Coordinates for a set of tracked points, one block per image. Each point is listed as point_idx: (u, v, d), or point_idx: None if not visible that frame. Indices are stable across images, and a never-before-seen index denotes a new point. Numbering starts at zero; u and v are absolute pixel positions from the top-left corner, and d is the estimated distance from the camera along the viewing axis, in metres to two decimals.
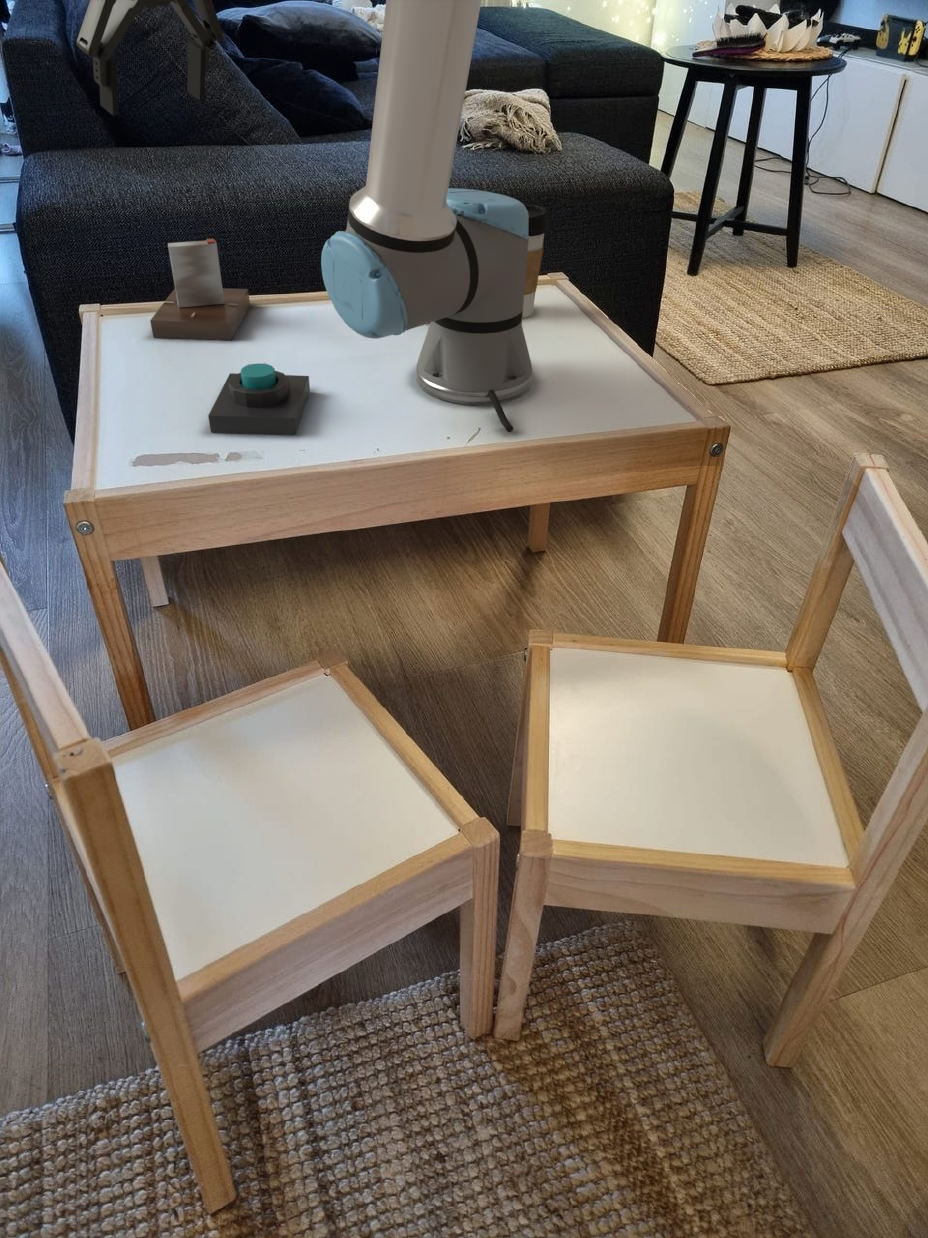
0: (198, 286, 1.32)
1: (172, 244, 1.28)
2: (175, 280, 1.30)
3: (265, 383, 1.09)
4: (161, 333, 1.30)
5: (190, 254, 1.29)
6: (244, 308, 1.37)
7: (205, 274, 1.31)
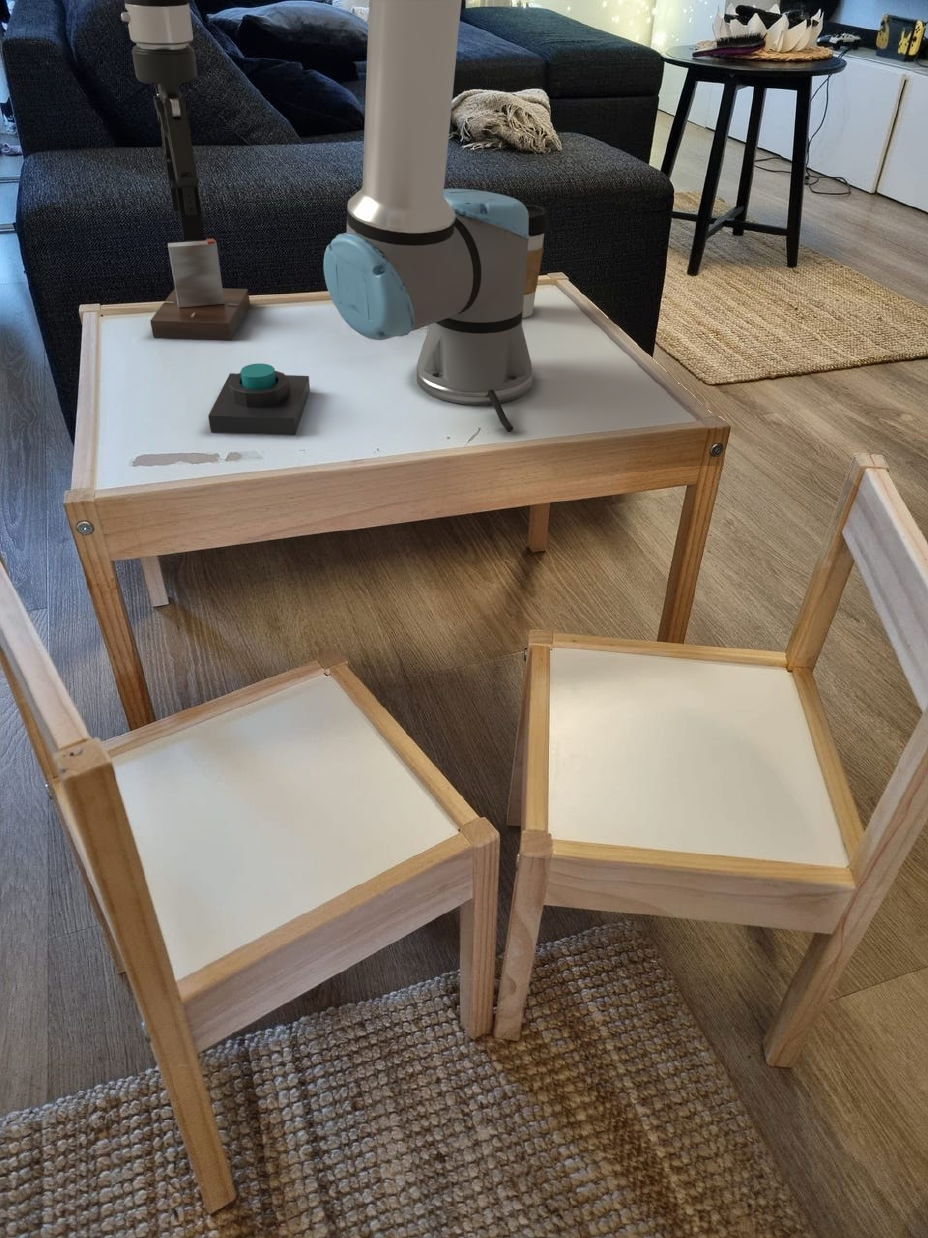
0: (198, 286, 1.32)
1: (172, 244, 1.28)
2: (175, 280, 1.30)
3: (265, 383, 1.09)
4: (161, 333, 1.30)
5: (190, 254, 1.29)
6: (244, 308, 1.37)
7: (205, 274, 1.31)
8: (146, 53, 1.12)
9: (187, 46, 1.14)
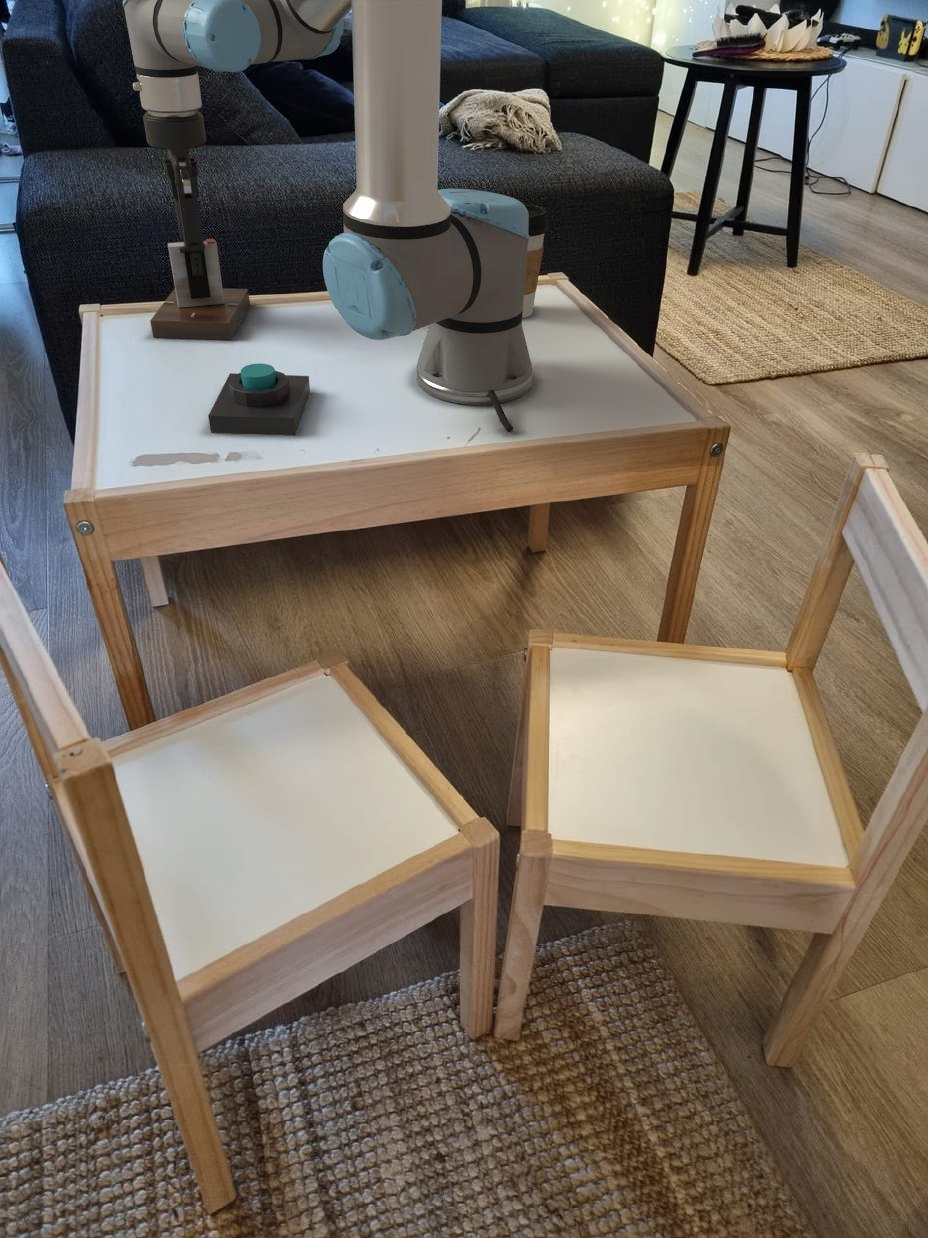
0: None
1: (172, 244, 1.28)
2: (175, 280, 1.30)
3: (265, 383, 1.09)
4: (161, 333, 1.30)
5: None
6: (244, 308, 1.37)
7: None
8: (157, 121, 1.16)
9: (196, 112, 1.18)
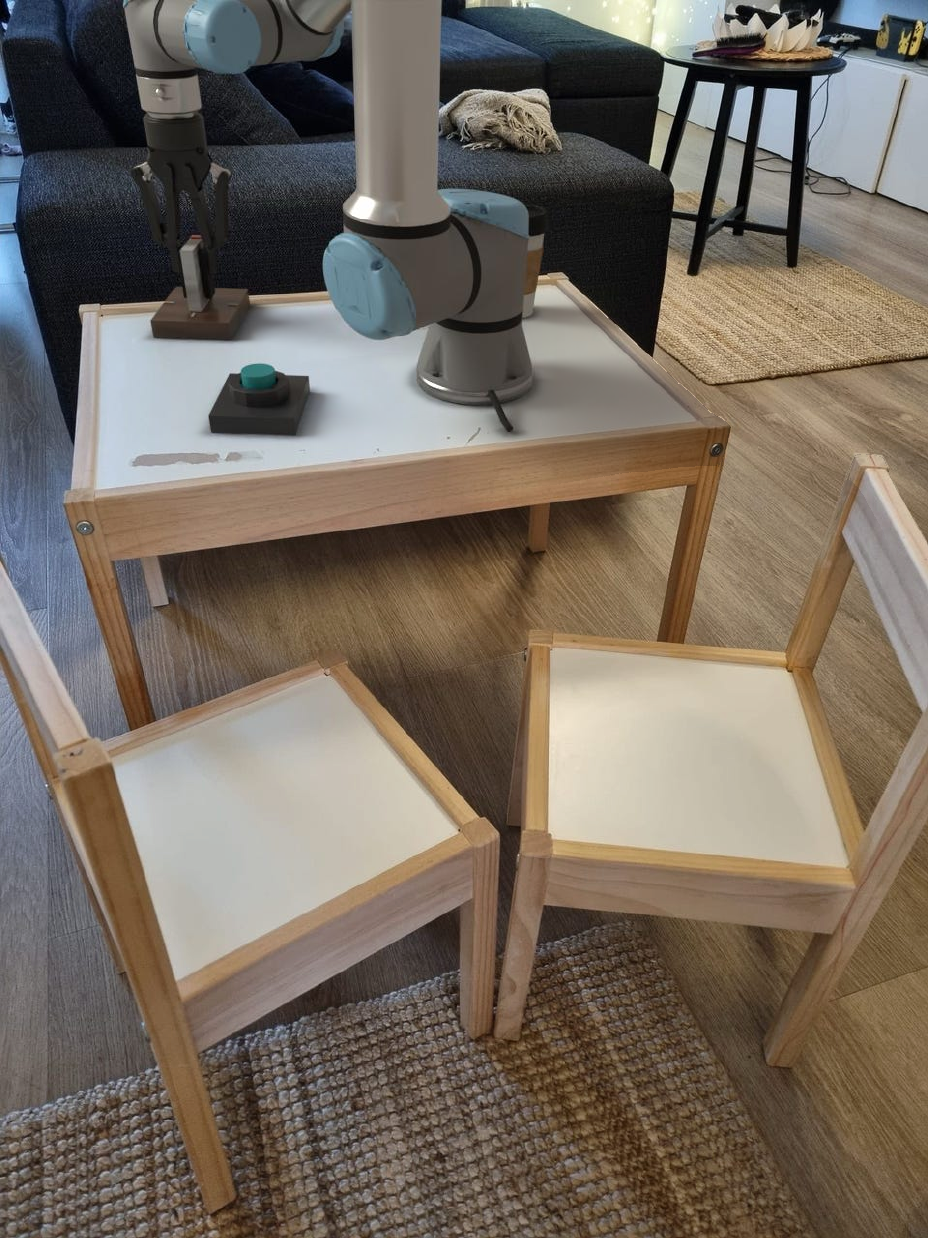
0: None
1: (186, 249, 1.27)
2: (198, 284, 1.29)
3: (265, 383, 1.09)
4: (161, 333, 1.30)
5: None
6: (244, 308, 1.37)
7: None
8: (191, 121, 1.17)
9: None
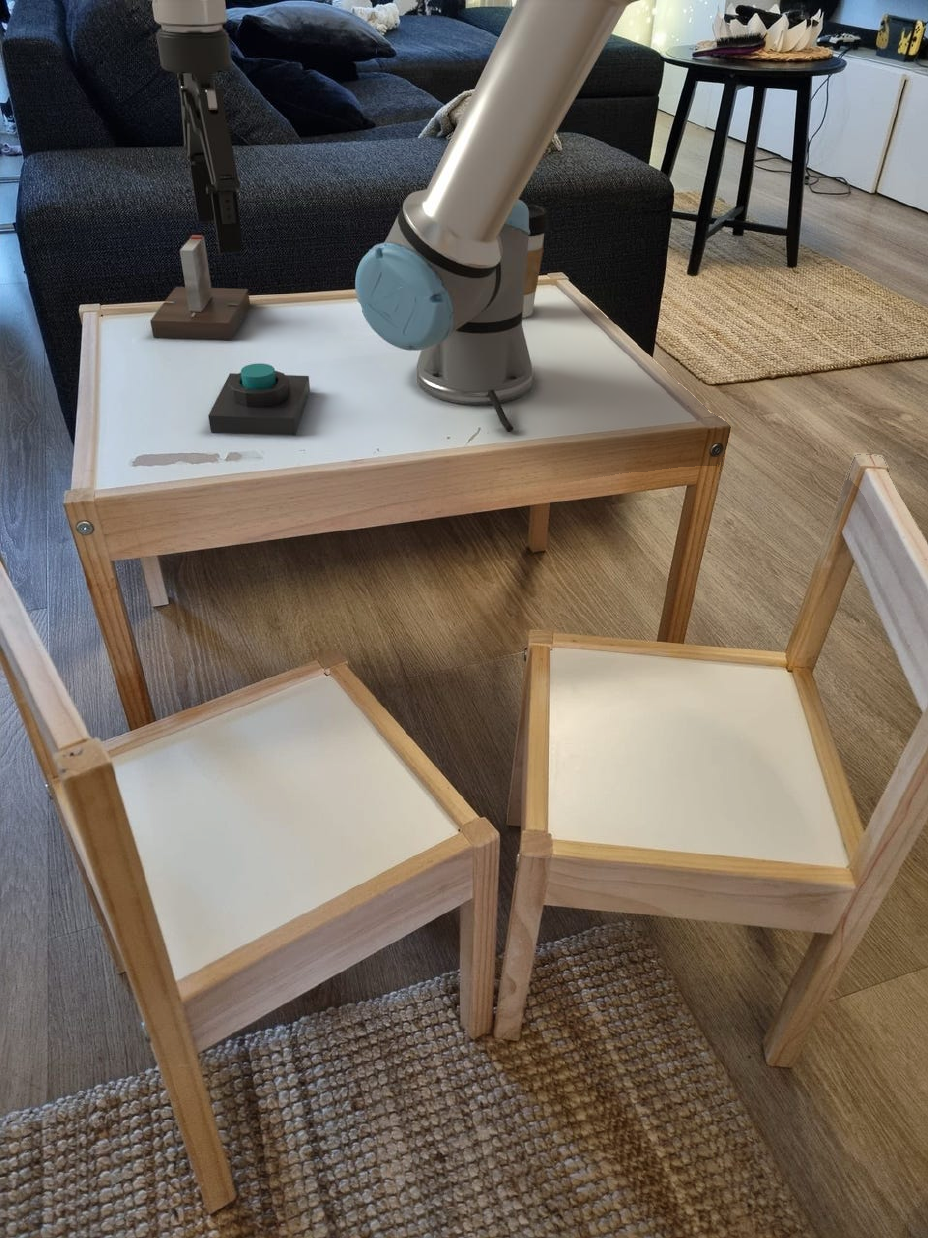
0: (204, 284, 1.32)
1: (186, 249, 1.27)
2: (198, 284, 1.29)
3: (265, 383, 1.09)
4: (161, 333, 1.30)
5: (199, 254, 1.29)
6: (244, 308, 1.37)
7: (204, 270, 1.32)
8: (176, 37, 0.96)
9: (221, 28, 0.98)
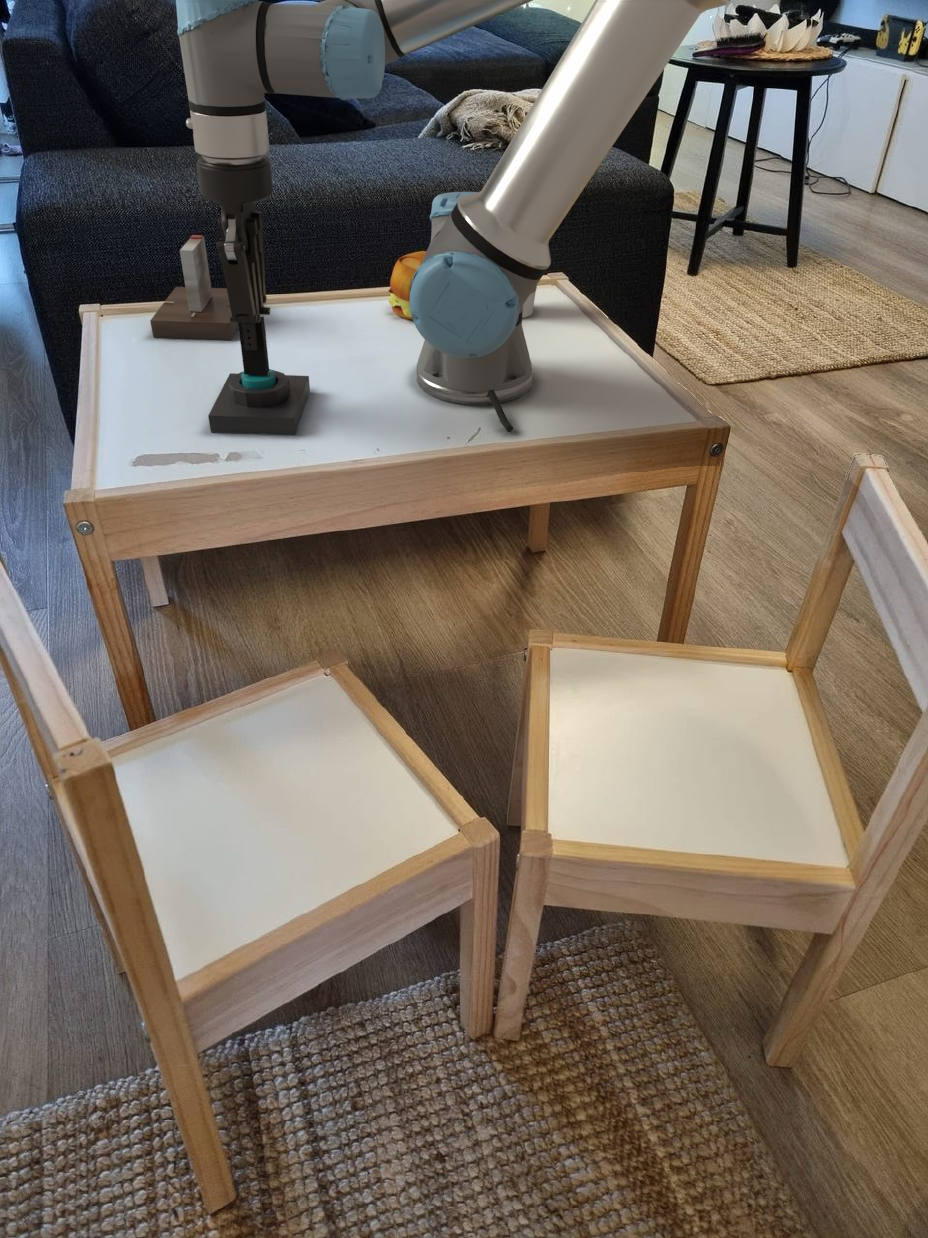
0: (204, 284, 1.32)
1: (186, 249, 1.27)
2: (198, 284, 1.29)
3: (265, 387, 1.09)
4: (161, 333, 1.30)
5: (199, 254, 1.29)
6: None
7: (204, 270, 1.32)
8: (206, 167, 0.93)
9: (258, 160, 0.94)
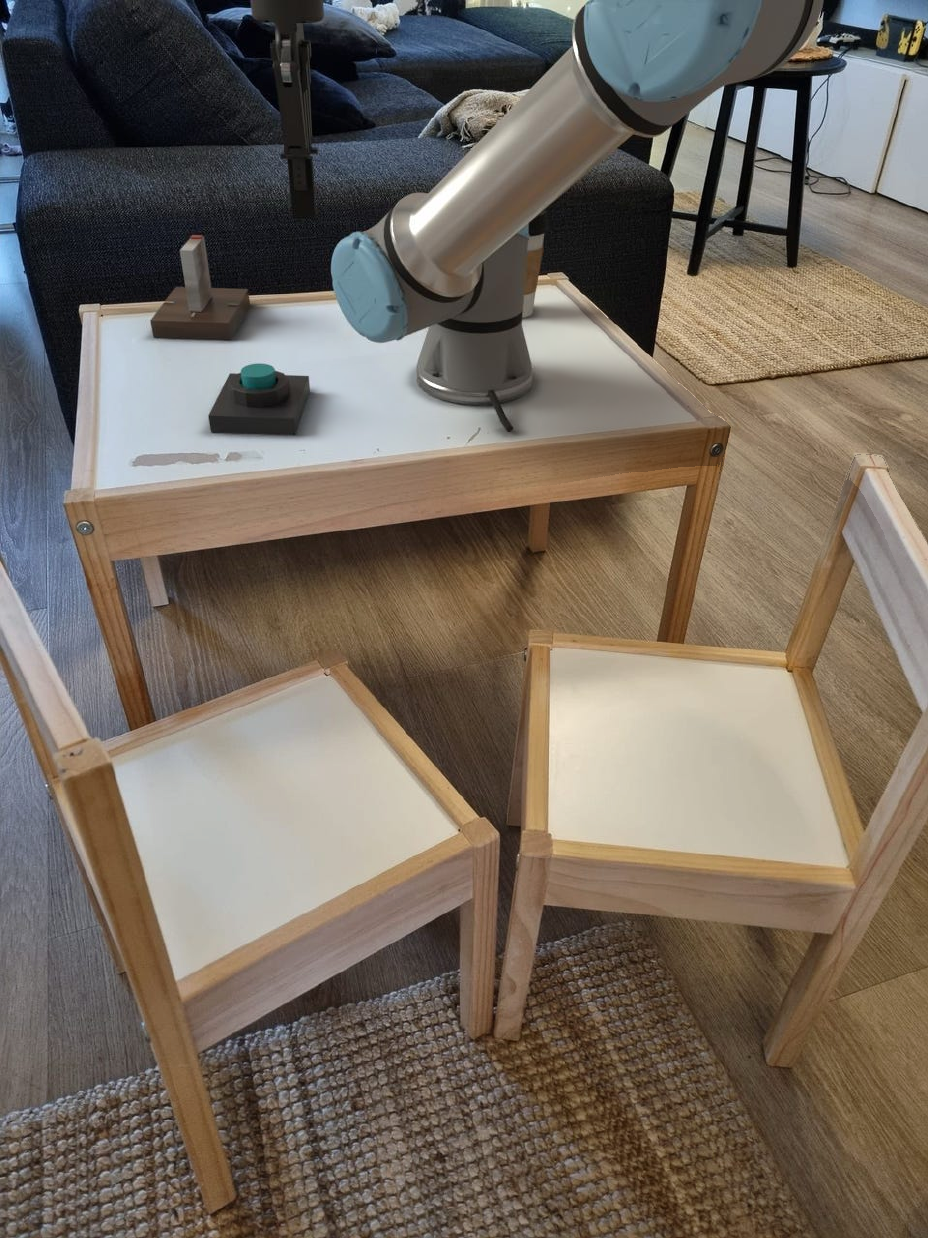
0: (204, 284, 1.32)
1: (186, 249, 1.27)
2: (198, 284, 1.29)
3: (265, 383, 1.09)
4: (161, 333, 1.30)
5: (199, 254, 1.29)
6: (244, 308, 1.37)
7: (204, 270, 1.32)
8: None
9: None
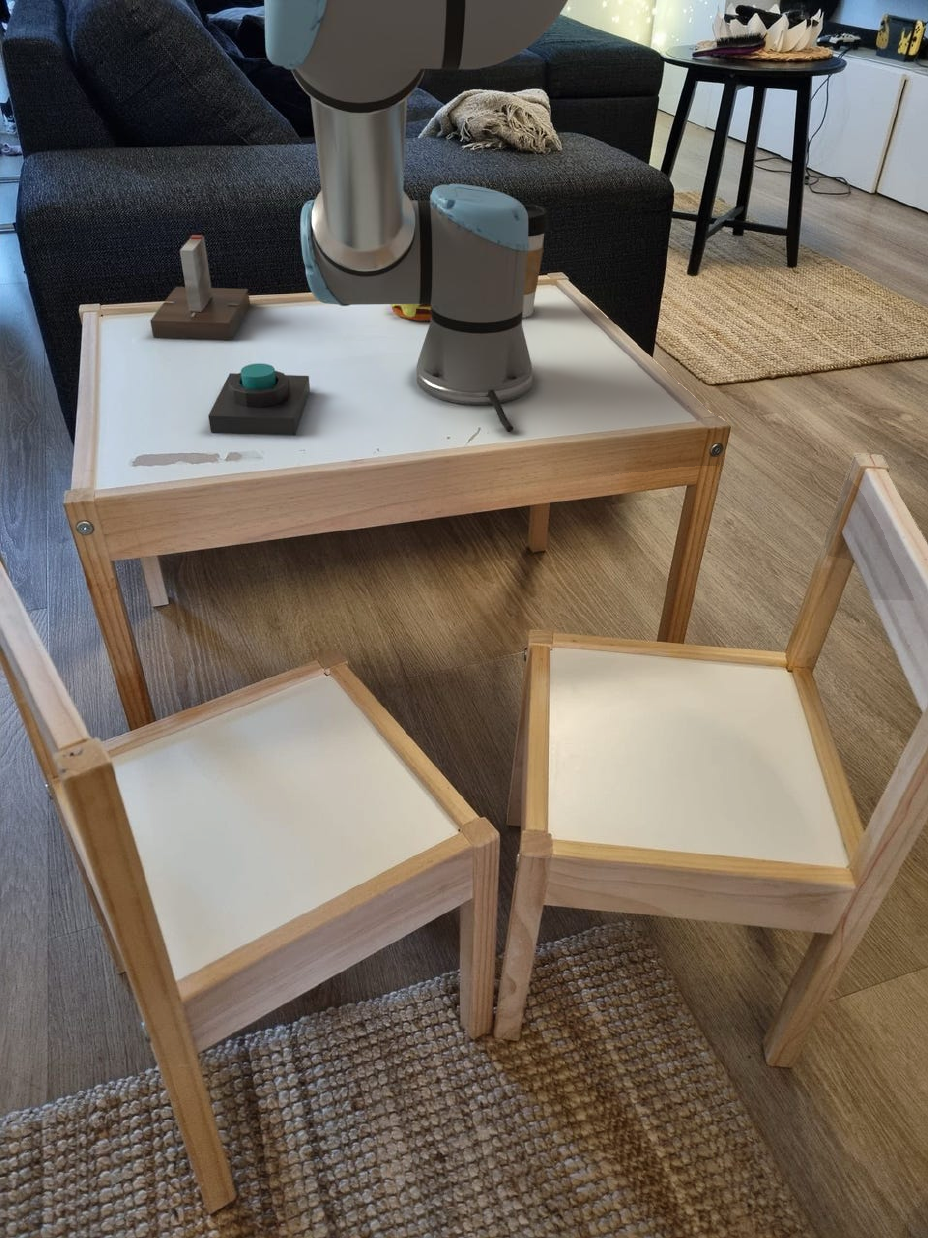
0: (204, 284, 1.32)
1: (186, 249, 1.27)
2: (198, 284, 1.29)
3: (265, 383, 1.09)
4: (161, 333, 1.30)
5: (199, 254, 1.29)
6: (244, 308, 1.37)
7: (204, 270, 1.32)
8: None
9: None
